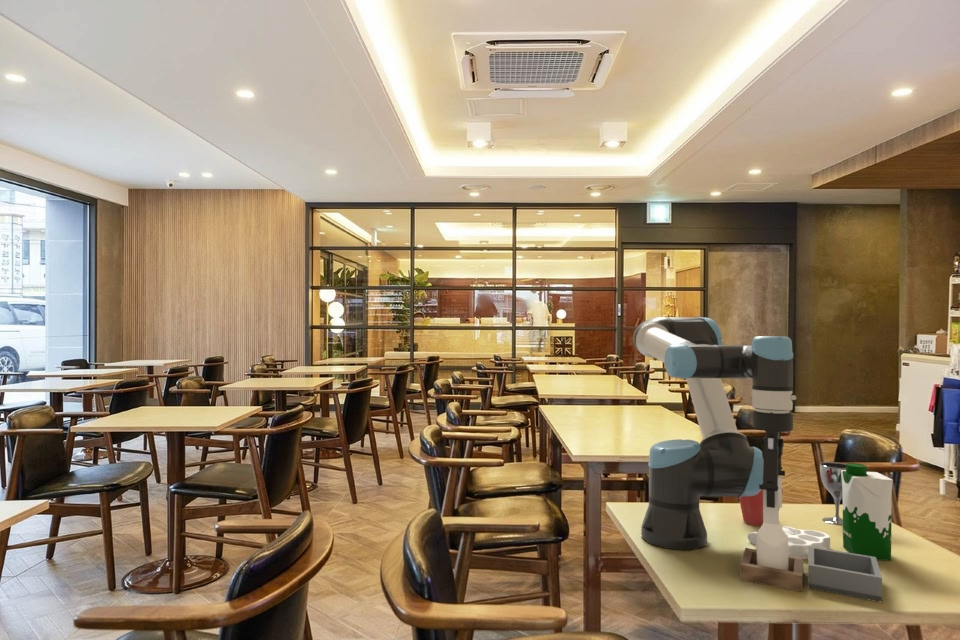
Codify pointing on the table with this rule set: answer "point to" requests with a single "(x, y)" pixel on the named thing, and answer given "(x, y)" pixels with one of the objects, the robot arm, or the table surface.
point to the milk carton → (866, 512)
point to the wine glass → (833, 486)
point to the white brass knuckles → (800, 540)
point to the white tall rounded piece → (772, 547)
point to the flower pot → (753, 508)
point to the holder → (772, 572)
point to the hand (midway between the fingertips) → (773, 514)
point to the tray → (844, 573)
